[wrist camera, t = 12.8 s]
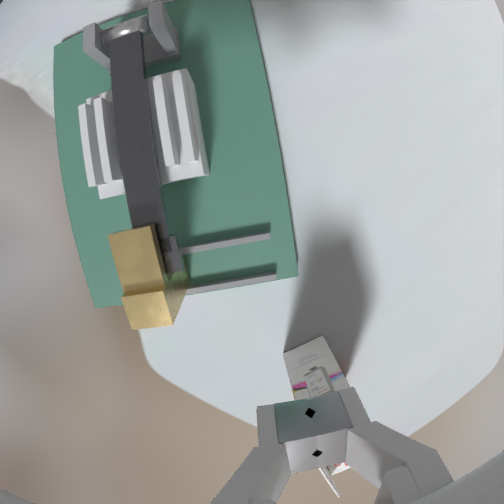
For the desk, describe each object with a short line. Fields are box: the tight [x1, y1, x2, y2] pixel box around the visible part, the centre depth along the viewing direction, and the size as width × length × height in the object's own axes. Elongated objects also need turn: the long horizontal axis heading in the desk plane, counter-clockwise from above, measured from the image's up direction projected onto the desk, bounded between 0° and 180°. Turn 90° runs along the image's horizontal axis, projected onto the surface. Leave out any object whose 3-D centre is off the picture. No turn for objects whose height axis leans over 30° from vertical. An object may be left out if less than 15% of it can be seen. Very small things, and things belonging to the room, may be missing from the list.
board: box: [53, 0, 298, 308], centre depth 20 cm, size 20×28×8 cm
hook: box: [108, 223, 190, 330], centre depth 21 cm, size 3×6×8 cm, turn 9°
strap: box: [100, 14, 185, 274], centre depth 18 cm, size 4×19×2 cm, turn 10°
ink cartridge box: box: [283, 335, 351, 497], centre depth 24 cm, size 9×5×15 cm, turn 25°
